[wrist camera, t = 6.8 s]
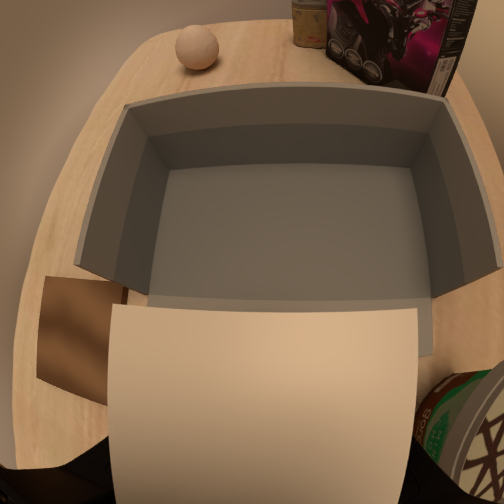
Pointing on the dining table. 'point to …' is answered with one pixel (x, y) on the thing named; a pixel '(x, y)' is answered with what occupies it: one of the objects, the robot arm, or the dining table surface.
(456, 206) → the open gray box
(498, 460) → the food container
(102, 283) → the walnut board
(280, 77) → the dining table surface
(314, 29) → the lighter
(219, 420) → the footed box
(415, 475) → the robot arm
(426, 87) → the graphics card box
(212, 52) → the egg
